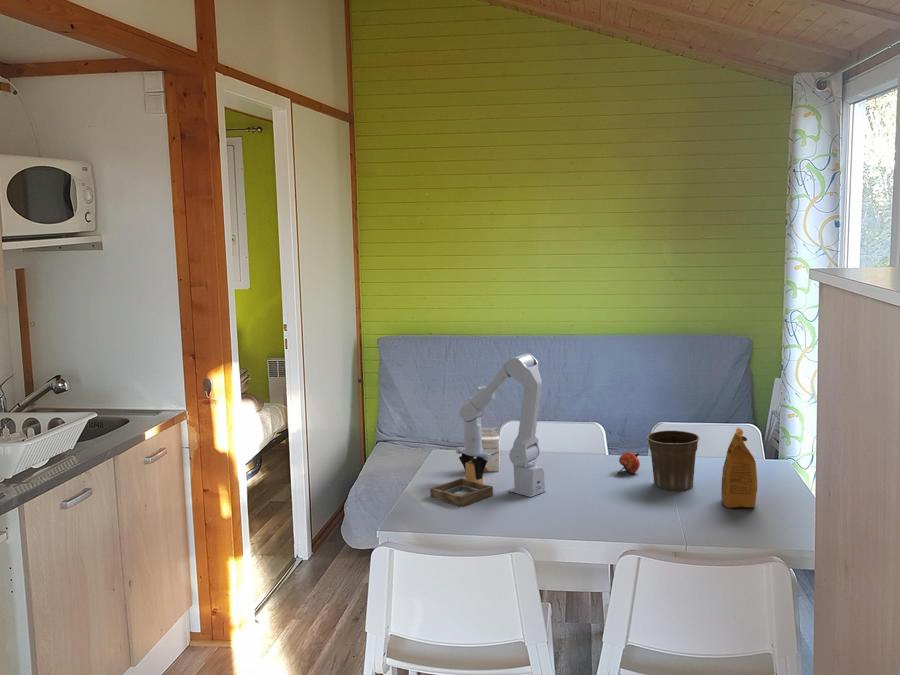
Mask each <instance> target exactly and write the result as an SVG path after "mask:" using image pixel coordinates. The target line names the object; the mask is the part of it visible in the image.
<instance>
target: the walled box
mask: <svg viewBox="0 0 900 675" xmlns="http://www.w3.org/2000/svg"><path fill="white" fill-rule="evenodd" d="M429 490H430V498H431V497H432V498H431V499H433V498H435V500H437V499H438V500H437V501H440V500H442V501H441V502H443V501H445V502H444V503H447V502H448V504H450V503H451V504H450V505H454V504H455V505H454V506H457V505H458V506H457V507H460V506H461V508H462V507H465V506H469V505H471V503H472V504H474V503H477V502H479V501H483V500H485V499H487V498H488V499H489V498H491V497H493V496H494V487H493V486H492V485H489V484H484V483H477V482H473V481H470V480H466V478H459V479H456V480H452V481H450V482H447V483H444V484H439V485H437V486H435V487H432V488H430V489H429ZM468 504H469V505H468Z"/></svg>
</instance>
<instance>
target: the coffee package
mask: <svg viewBox="0 0 900 675" xmlns="http://www.w3.org/2000/svg"><path fill="white" fill-rule="evenodd" d="M734 432H735V433H734V434H733V436H732V439H731V441H730V443H729V445H728V447H727V451H726V456H725V459H724V463H723V467H722V474H721V475H722V476H721V489H720V490H721V494H720V495H721V501H722V503H723V505H724V506H725V508H728V509H733V508H735V509H736V508H755V507H756V501H757V492H758V473H757V464H756V463H757V462H756V460H755V458H754V455H753V454H752V453H751V451H750V449H749V448H748V447H747V446H746V444H745V442H747V441H748V439H747V437H746V436H744V435H743V433H744V430H742V429H741V427H737V428H736V429H735V431H734Z"/></svg>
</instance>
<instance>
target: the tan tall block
mask: <svg viewBox="0 0 900 675" xmlns="http://www.w3.org/2000/svg"><path fill="white" fill-rule="evenodd" d="M473 459H476V458H475V457H474V458H472V459H471V461H470V462H466V463H465V466H466V472H465V479H466V480H470V481H473V482H477V483H481V484H484V475H483V476H482V479H479V480H477V479H476V472H475V466H474V463H473V461H472V460H473Z"/></svg>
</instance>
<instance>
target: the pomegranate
mask: <svg viewBox="0 0 900 675" xmlns="http://www.w3.org/2000/svg"><path fill="white" fill-rule="evenodd" d="M639 456H640V453H639V452H637V453H635V454H634V453H632V452H624V453H622V454H621V456H619V458H618V462H619V464H620V465H622V466H623V467H622V468H621V469H620V470H619V471H617V474H618V475H619V473H621V472H622V471H623V470H625V471H626V472H628V473H630V474H635V473H636V472H638V470H639V469H640V466H641V465H640V464H641V462H640V459H639Z"/></svg>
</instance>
